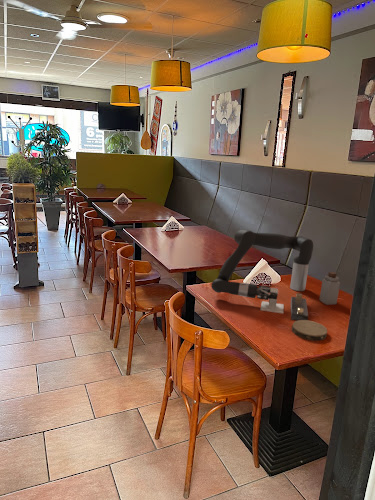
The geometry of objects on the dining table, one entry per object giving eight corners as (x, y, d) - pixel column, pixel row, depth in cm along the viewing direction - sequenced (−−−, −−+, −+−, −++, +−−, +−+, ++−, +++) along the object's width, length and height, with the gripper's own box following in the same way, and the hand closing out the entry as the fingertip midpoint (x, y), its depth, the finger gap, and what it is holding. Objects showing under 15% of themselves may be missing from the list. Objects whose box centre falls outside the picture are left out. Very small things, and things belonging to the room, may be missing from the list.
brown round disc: (319, 326, 185) (320, 320, 184) (331, 342, 170) (332, 336, 169) (287, 324, 185) (288, 319, 184) (297, 340, 169) (298, 334, 168)
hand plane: (290, 302, 213) (292, 292, 211) (305, 304, 211) (306, 294, 209) (291, 319, 190) (292, 308, 188) (307, 322, 188) (308, 311, 187)
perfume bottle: (326, 304, 212) (331, 275, 208) (319, 300, 218) (324, 271, 214) (336, 304, 214) (341, 274, 209) (329, 299, 220) (334, 270, 216)
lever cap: (268, 304, 206) (270, 287, 204) (276, 305, 205) (278, 288, 203) (268, 307, 202) (270, 290, 199) (275, 309, 201) (277, 291, 198)
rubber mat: (261, 301, 211) (261, 301, 210) (283, 305, 208) (283, 304, 208) (260, 310, 199) (260, 309, 199) (283, 313, 197) (283, 312, 196)
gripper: (246, 288, 197) (278, 292, 193) (249, 279, 211) (278, 283, 207) (245, 301, 199) (276, 305, 195) (248, 292, 213) (277, 296, 209)
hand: (277, 294), depth 201 cm, fingers open, 8 cm apart
